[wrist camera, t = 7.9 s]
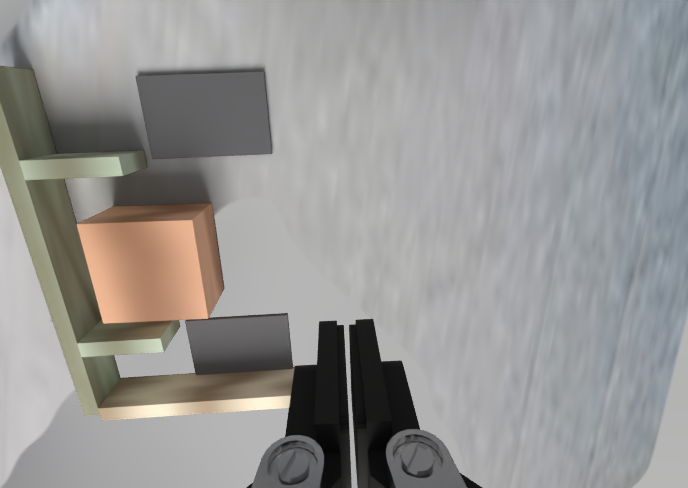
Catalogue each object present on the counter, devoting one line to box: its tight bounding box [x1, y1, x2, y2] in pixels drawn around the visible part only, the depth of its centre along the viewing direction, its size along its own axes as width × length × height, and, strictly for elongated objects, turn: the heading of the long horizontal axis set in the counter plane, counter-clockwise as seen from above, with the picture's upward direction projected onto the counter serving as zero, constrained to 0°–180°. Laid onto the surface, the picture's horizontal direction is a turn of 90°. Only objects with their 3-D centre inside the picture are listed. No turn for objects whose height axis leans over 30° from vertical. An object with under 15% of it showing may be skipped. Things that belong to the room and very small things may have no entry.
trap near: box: [136, 72, 272, 159], centre depth 22 cm, size 7×4×1 cm, turn 92°
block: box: [77, 203, 224, 324], centre depth 23 cm, size 6×6×4 cm
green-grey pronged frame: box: [0, 66, 295, 420], centre depth 24 cm, size 16×22×3 cm
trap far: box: [185, 313, 293, 375], centre depth 27 cm, size 7×4×1 cm, turn 92°
